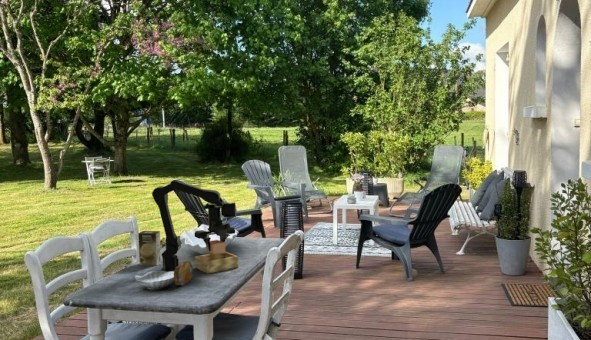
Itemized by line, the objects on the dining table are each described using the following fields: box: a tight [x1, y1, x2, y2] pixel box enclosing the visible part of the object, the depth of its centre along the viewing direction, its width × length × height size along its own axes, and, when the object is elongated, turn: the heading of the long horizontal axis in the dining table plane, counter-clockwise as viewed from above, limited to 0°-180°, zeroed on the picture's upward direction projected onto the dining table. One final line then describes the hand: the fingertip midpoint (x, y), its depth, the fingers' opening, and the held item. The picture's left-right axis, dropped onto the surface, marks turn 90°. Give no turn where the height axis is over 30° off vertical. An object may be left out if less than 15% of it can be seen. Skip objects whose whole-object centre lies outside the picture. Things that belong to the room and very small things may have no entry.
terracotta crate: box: [205, 239, 226, 255], centre depth 261 cm, size 6×8×5 cm
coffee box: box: [138, 230, 162, 266], centre depth 272 cm, size 9×6×16 cm
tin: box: [173, 261, 194, 286], centre depth 239 cm, size 15×3×8 cm, turn 168°
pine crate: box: [194, 251, 239, 274], centre depth 261 cm, size 16×13×6 cm
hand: (215, 250), depth 261 cm, fingers closed on terracotta crate, 6 cm apart
